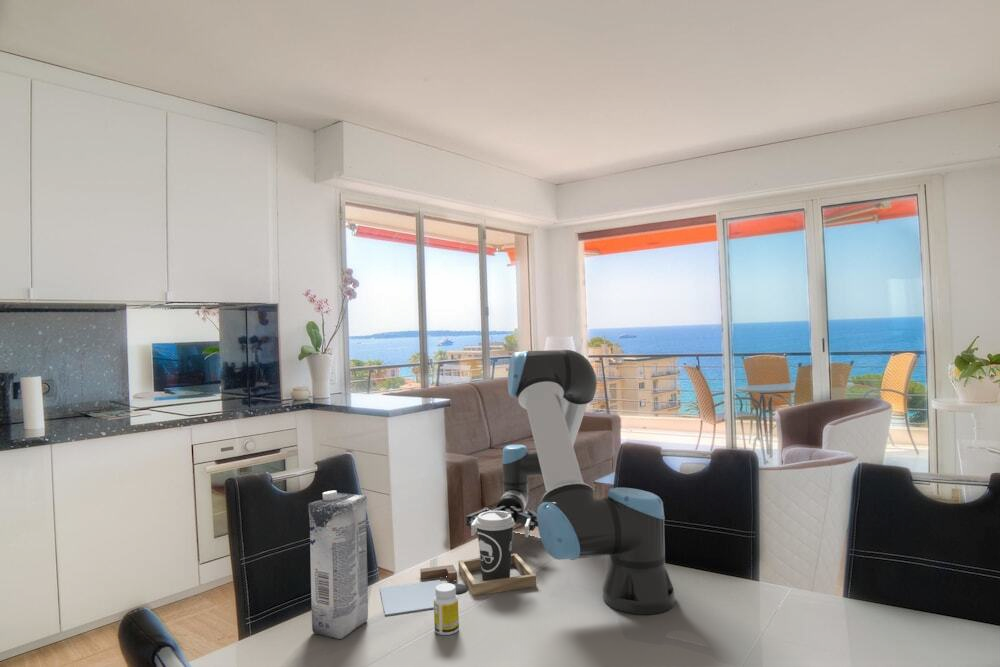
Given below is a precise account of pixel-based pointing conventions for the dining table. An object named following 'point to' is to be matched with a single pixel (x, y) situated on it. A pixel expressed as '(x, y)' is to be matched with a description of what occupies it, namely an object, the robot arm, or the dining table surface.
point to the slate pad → (409, 597)
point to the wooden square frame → (497, 584)
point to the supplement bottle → (446, 609)
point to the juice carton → (338, 563)
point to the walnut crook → (439, 572)
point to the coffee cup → (495, 543)
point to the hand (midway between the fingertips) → (499, 531)
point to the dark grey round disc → (460, 588)
